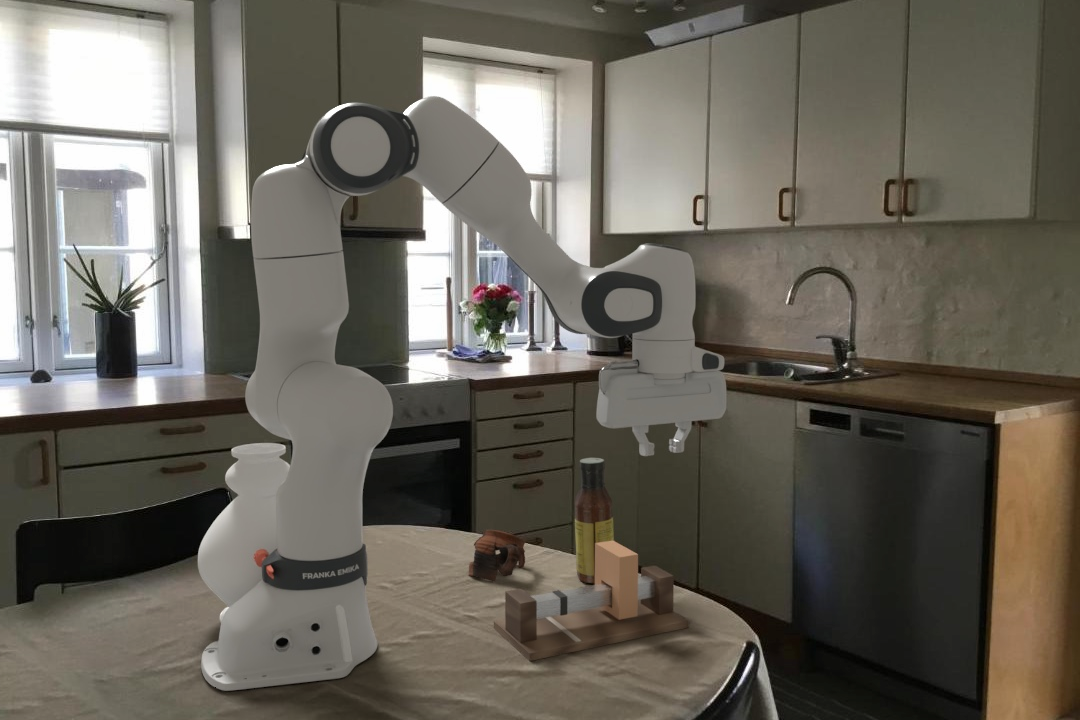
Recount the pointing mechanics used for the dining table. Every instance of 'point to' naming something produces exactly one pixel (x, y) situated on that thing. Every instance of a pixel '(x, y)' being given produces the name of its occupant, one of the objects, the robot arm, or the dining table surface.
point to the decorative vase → (244, 523)
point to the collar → (618, 577)
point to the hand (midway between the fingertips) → (661, 453)
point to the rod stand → (586, 617)
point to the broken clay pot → (496, 555)
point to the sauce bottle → (591, 517)
